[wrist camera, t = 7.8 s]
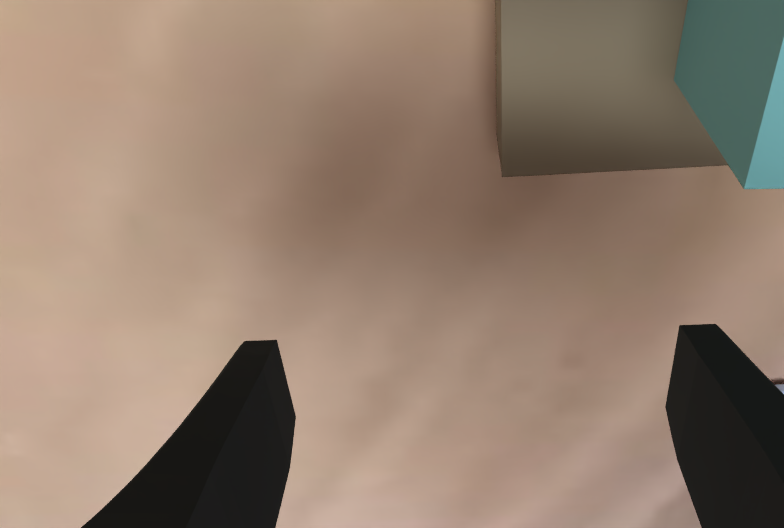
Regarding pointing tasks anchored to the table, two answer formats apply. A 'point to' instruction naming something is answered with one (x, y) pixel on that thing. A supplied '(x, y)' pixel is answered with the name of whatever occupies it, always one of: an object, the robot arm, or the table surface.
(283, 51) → the table surface
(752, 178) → the teal brick
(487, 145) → the table surface
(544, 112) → the walnut base brick
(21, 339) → the table surface
